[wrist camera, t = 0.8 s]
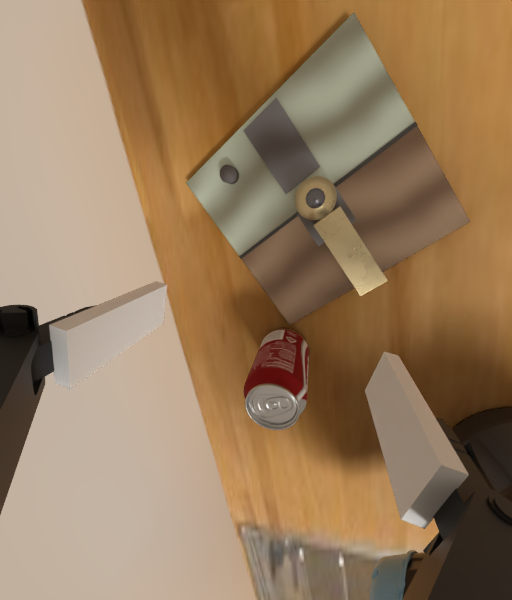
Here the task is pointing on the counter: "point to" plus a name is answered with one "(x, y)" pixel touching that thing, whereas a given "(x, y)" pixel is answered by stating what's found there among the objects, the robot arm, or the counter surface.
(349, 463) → the counter surface
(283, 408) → the soda can
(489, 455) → the robot arm
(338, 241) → the swing bar
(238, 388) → the counter surface
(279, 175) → the latch board
